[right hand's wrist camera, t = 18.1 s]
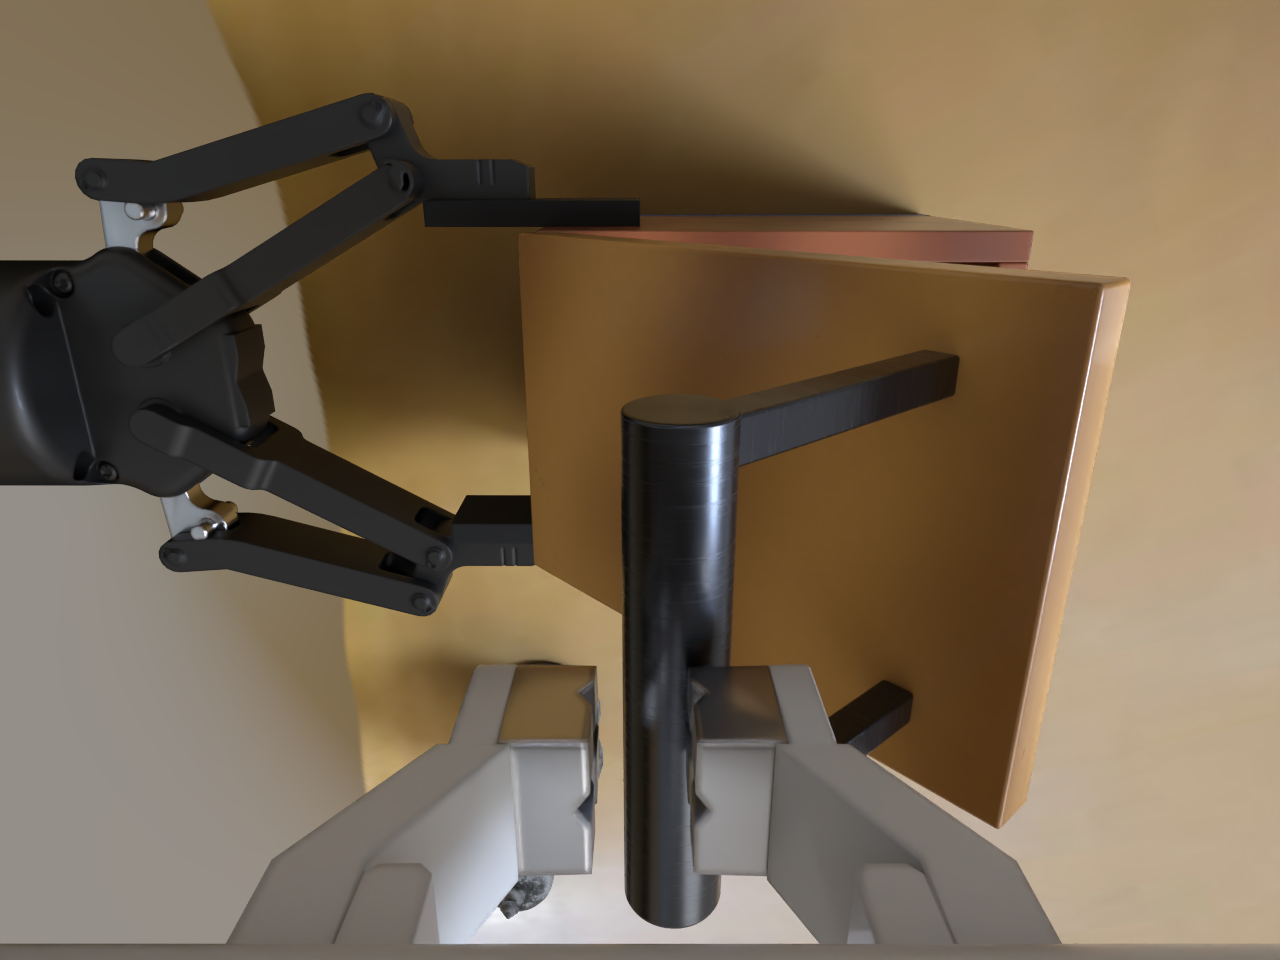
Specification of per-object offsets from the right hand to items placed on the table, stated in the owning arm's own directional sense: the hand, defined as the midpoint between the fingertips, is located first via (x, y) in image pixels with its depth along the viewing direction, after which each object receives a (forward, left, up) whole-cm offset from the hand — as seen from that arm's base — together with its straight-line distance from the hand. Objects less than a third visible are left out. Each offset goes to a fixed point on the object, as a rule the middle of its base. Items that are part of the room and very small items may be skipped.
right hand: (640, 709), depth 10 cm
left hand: (0, 0, -19) cm, 19 cm away
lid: (-2, -1, -9) cm, 10 cm away
